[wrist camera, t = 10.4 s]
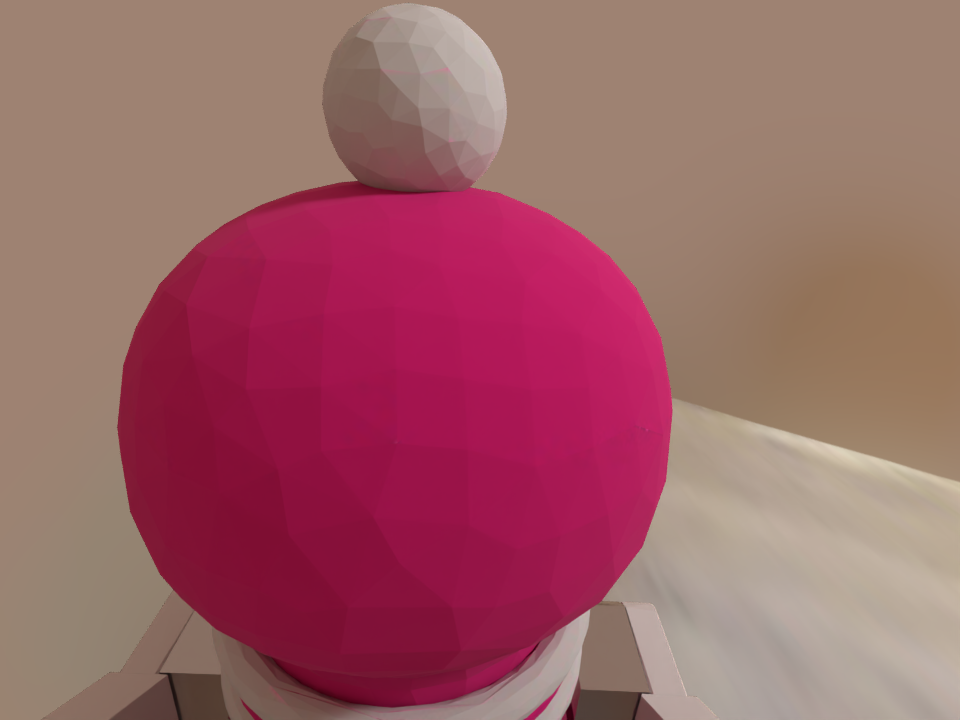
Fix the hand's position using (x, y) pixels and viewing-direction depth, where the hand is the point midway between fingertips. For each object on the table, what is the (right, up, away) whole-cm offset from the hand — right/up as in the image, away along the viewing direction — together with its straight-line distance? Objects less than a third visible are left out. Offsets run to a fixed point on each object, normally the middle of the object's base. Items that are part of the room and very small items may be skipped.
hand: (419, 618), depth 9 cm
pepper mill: (-1, -11, +4) cm, 12 cm away
